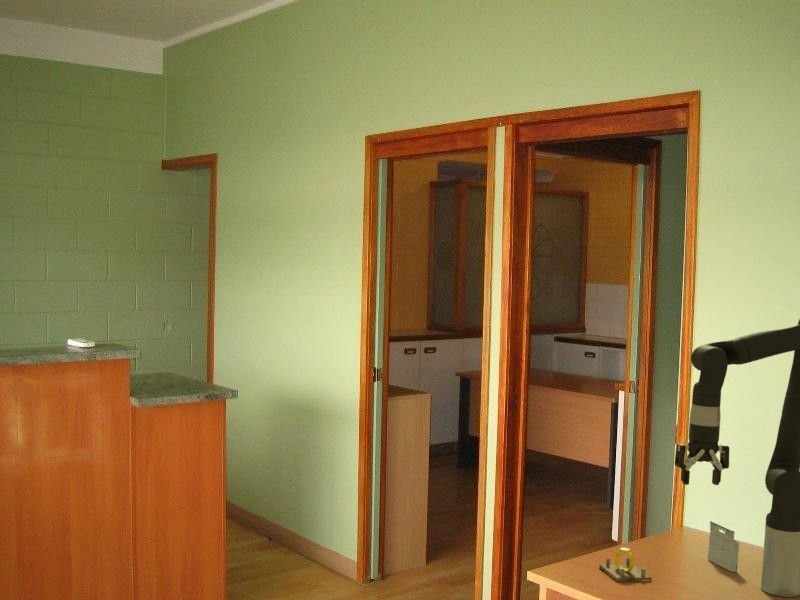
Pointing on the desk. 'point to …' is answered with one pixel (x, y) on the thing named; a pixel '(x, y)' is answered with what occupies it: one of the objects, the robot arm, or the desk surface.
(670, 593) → the desk surface
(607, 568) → the pin plate
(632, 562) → the watch
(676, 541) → the desk surface
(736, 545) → the ink box
